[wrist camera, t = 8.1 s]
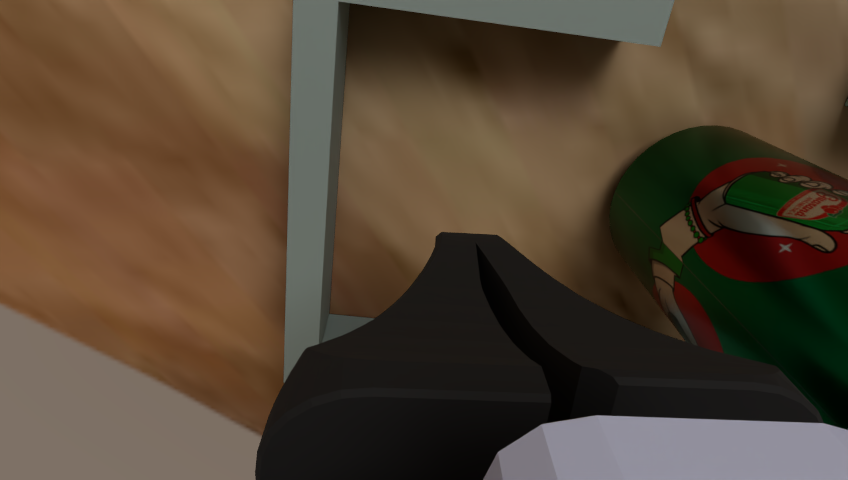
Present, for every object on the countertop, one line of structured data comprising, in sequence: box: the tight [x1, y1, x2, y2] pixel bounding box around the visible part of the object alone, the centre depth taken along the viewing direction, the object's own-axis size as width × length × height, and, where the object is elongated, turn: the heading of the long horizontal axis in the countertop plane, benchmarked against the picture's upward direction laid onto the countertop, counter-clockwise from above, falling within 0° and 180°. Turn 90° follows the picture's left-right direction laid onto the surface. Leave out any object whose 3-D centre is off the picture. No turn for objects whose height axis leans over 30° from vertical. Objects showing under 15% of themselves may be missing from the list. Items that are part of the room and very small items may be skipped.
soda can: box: [609, 126, 848, 430], centre depth 12 cm, size 5×5×12 cm
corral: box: [284, 0, 848, 383], centre depth 16 cm, size 24×12×2 cm, turn 83°
